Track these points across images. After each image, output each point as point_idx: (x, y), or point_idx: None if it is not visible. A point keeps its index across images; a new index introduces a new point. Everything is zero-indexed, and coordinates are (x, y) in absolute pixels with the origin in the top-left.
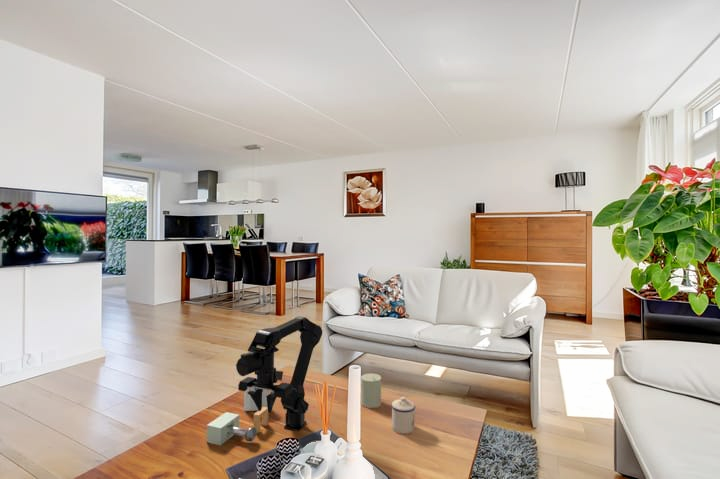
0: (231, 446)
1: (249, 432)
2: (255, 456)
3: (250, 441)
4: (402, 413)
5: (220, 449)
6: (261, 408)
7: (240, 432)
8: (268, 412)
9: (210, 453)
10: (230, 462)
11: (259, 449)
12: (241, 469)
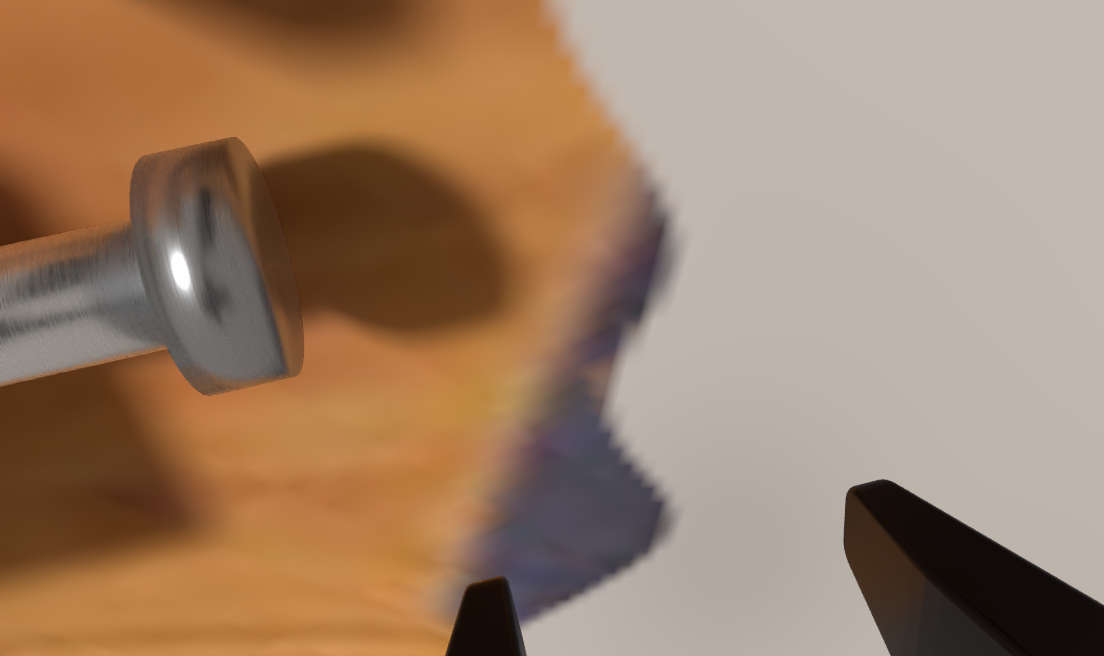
0: (87, 405)
1: (279, 378)
2: (570, 359)
3: (291, 268)
4: None
5: (37, 512)
6: (509, 604)
7: (44, 376)
8: (860, 573)
9: (28, 607)
10: (399, 559)
11: (504, 239)
12: (597, 551)
